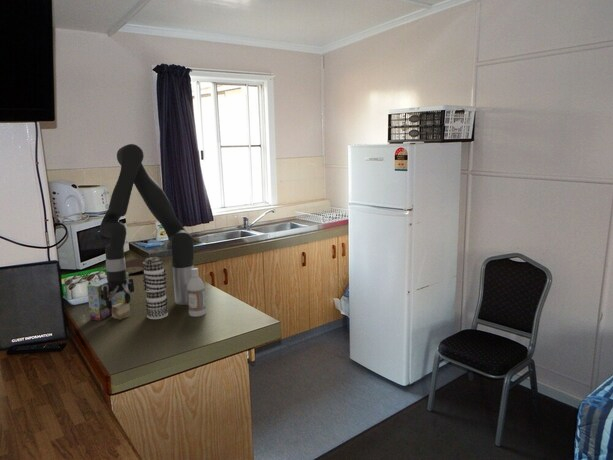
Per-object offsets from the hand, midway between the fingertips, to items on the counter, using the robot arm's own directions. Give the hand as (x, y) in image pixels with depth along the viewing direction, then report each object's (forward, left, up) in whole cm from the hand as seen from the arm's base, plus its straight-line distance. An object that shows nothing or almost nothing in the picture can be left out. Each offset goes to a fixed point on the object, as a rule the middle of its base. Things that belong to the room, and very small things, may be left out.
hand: (118, 305), depth 184 cm
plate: (+57, -53, -5) cm, 78 cm away
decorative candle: (-14, -8, -5) cm, 17 cm away
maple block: (-1, 0, -5) cm, 5 cm away
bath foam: (-28, -17, -5) cm, 33 cm away
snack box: (+8, -2, -5) cm, 10 cm away
